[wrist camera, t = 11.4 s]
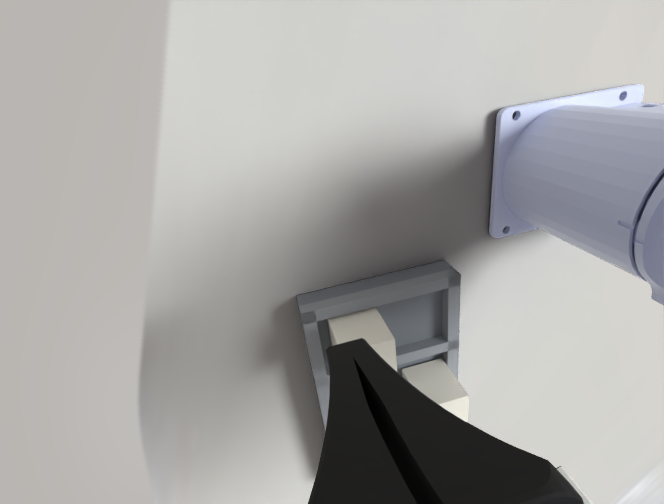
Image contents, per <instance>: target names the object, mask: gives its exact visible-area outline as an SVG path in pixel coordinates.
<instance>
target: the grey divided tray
mask: <svg viewBox="0 0 664 504" xmlns="http://www.w3.org/2000/svg"><path fill="white" fill-rule="evenodd" d="M460 280H461V274H460V273H459V272H458V271H456V270H455V269H454V268H453V267H452V266H451V265H450V264H448V263H447V262H446V261H445V260H443V261H438V262H434V263H430V264H426V265H422V266H418V267H413V268H409V269H405V270H401V271H397V272H393V273H388V274H384V275H380V276H376V277H372V278H368V279H363V280H359V281H355V282H351V283H347V284H343V285H339V286H334V287H330V288H326V289H322V290H318V291H314V292H309V293H305V294H301V295H297V296H296V297H297V302H298V307H299V312H300V316H301V321H302V326H303V330H304V335H305V340H306V345H307V349H308V354H309V359H310V363H311V368H312V373H313V378H314V382H315V387H316V392H317V396H318V401H319V406H320V411H321V415H322V420H323V425H324V430H325V432H326V425H327V417H328V407H329V395H330V370H329V365H328V359H327V354H326V349H327V348H328V347H330V346H332V344H331V338H330V333H329V327H328V321H327V319H329V318H333V317H337V316H340V315H344V314H348V313H352V312H356V311H360V310H364V309H368V308H372V307H376V309H377V310H378V312H379V314H380V315H381V317H382V318H383V320H384V322H385V323H386V325H387V327H388V328H389V330H390V332H391V333H392V335H393V337H394V338H395V347H396V361H397V372H398V373H399V374H400V375H401V376H402V369H404V368H408V367H411V366H415V365H418V364H422V363H426V362H429V361H433V360H436V359H440V358H442V359H443V361H444V362H445V363H446V365H447V366H448V368H449V369H450V370H451V372H452V373H453V374H454V376H455V377H456V378H457V380H458V351H459V316H460Z"/></svg>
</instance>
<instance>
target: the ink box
mask: <svg viewBox="0 0 664 504" xmlns="http://www.w3.org/2000/svg"><path fill="white" fill-rule="evenodd" d="M557 470H558V471H559V472H560V473H561V474H562V475H563V476H564V477H565V478H566V479H567V480H568V482H569V483H570V484H571V485H572V486H573V487H574V489H575V490H576V491H577V492H578V494H579V495H580V496H581V497H582V499H583V502H584V504H593V503H592V502H591V501H590V500H589V498H588V497H587V496H586V495H585V494H584V492H583V491H582V490H581V489H580V488H579V486H578V485H577V484H576V483H575V482H574V480H573V479H572V478H571V477H570V475H569V474H568V473H567V472H566V471H565V469H564V468H563V467H562V466H561V467H559V468H557Z"/></svg>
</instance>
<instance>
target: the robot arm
mask: <svg viewBox="0 0 664 504" xmlns="http://www.w3.org/2000/svg"><path fill="white" fill-rule="evenodd" d="M620 94H621V96H620ZM643 94H644V87H643V85H642V84H631V85H626V86H620V87H615V88H609V89H604V90H598V91H592V92H587V93H581V94H576V95H570V96H565V97H559V98H553V99H548V100H542V101H537V102H531V103H526V104H520V105H515V106H509V107H504V108H502V109H501V110H500V111H499V112H498V114H497V118H496V133H495V148H494V164H493V179H492V195H491V210H490V226H489V234H490V235H491V236H492V237H494V238H502V237H506V236H510V235H514V234H519V233H523V232H527V231H531V230H536V229H541V230H543V231H545V232H548V233H550V234H552V235H554V236H556V237H558V238H560V239H562V240H564V241H566V242H568V243H570V244H572V245H574V246H576V247H578V248H580V249H582V250H584V251H586V252H588V253H590V254H592V255H594V256H596V257H598V258H600V259H602V260H604V261H606V262H608V263H610V264H612V265H614V266H616V267H618V268H620V269H622V270H624V271H626V272H628V273H630V274H632V275H635V276H637V277H639V278H641V279H643V280H645V281H647V282H648V283H649V284H650V285H651V288H652V296H651V297H652V299H653V300H655V301H657V302H658V303H660V304H662V305H664V104H661V103H643V102H642V99H643ZM619 96H620V98H619ZM514 112H516V116H515V118H514V119H512V115H513V113H514ZM504 227H506V229H505V230H504V231H503V229H504ZM326 354H327V359H328V365H329V370H330V395H329V407H328V417H327V425H326V432H325V437H324V443H323V448H322V453H321V457H320V462H319V466H318V471H317V474H316V478H315V482H314V485H313V489H312V492H311V495H310V499H309V502H308V504H584V502H583V499H582V497H581V496H580V495H579V494H578V492H577V491H576V490H575V489H574V487H573V486H572V485H571V484H570V483H569V482H568V480H567V479H566V478H565V477H564V476H563V475H562V474H561V473H560V472H559V471H558V470H557V469H556V468H555V467H554V466H553V465H552V464H551V463H550V462H549V461H548V460H546V459H543V458H541V457H538V456H536V455H533V454H531V453H529V452H526V451H524V450H521V449H519V448H516V447H514V446H512V445H510V444H507V443H505V442H503V441H501V440H499V439H497V438H495V437H493V436H491V435H489V434H487V433H485V432H484V431H482V430H480V429H478V428H476V427H474V426H473V425H471V424H469V423H467V422H465V421H464V420H462V419H460V418H459V417H457V416H455V415H454V414H452V413H451V412H449V411H447V410H446V409H444V408H443V407H441V406H440V405H439V404H437V403H436V402H434V401H433V400H431V399H430V398H429V397H427V396H426V395H425V394H423V393H422V392H421V391H419V390H418V389H417V388H416V387H414V386H413V385H412V384H411V383H409V382H408V381H407V380H406V379H405V378H403V377H402V376H401V375H400V374H399V373H398V372H397V371H396V370H394V369H393V368H392V367H391V366H390V365H389V364H388V363H387V362H386V361H385V360H384V359H383V358H382V357H381V356H380V355H379V354H378V353H377V352H376V351H375V350H374V349H373V348H372V347H371V346H370V345H369V344H368V342H367V341H366V340H365V339H363V338H360V339H356V340H353V341H349V342H345V343H341V344H337V345H334V346H330V347H328V348H327V349H326Z"/></svg>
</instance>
